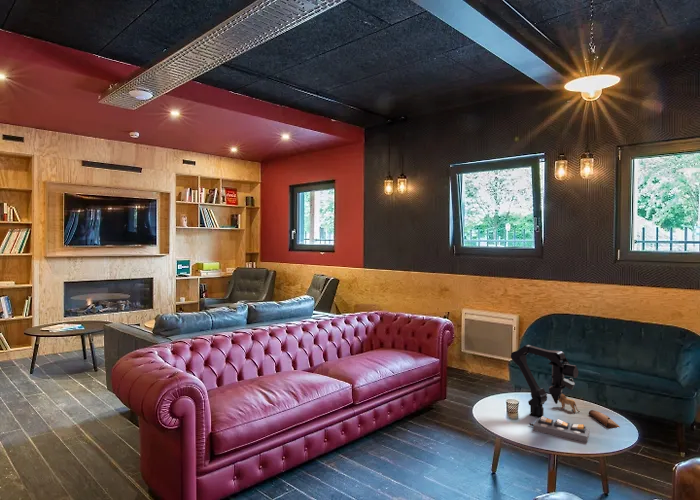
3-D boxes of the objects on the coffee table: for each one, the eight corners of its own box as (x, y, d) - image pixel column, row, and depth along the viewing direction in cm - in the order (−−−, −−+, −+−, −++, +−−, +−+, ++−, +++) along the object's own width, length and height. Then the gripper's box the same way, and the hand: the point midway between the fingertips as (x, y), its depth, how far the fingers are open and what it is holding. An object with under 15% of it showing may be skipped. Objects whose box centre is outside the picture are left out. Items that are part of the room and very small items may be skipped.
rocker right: (572, 429, 238) (572, 426, 238) (573, 426, 241) (573, 424, 242) (583, 429, 235) (582, 427, 236) (584, 427, 239) (583, 424, 239)
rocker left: (540, 420, 247) (540, 418, 247) (541, 418, 250) (542, 416, 250) (550, 424, 244) (550, 422, 244) (551, 422, 248) (551, 419, 247)
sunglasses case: (622, 427, 247) (616, 417, 246) (611, 434, 247) (605, 424, 246) (602, 414, 265) (596, 405, 264) (592, 420, 265) (586, 411, 264)
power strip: (527, 429, 246) (527, 421, 246) (531, 422, 254) (531, 415, 254) (587, 442, 230) (587, 434, 230) (589, 435, 238) (589, 427, 238)
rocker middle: (555, 423, 243) (556, 421, 242) (557, 421, 246) (558, 418, 246) (566, 428, 240) (566, 426, 240) (567, 426, 243) (568, 423, 243)
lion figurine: (553, 406, 278) (553, 392, 277) (557, 404, 281) (558, 390, 281) (577, 414, 266) (578, 399, 266) (582, 411, 269) (582, 396, 269)
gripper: (571, 380, 242) (570, 409, 242) (575, 371, 257) (575, 398, 258) (548, 377, 248) (548, 405, 249) (554, 368, 264) (554, 395, 264)
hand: (557, 401), depth 255 cm, fingers open, 9 cm apart
